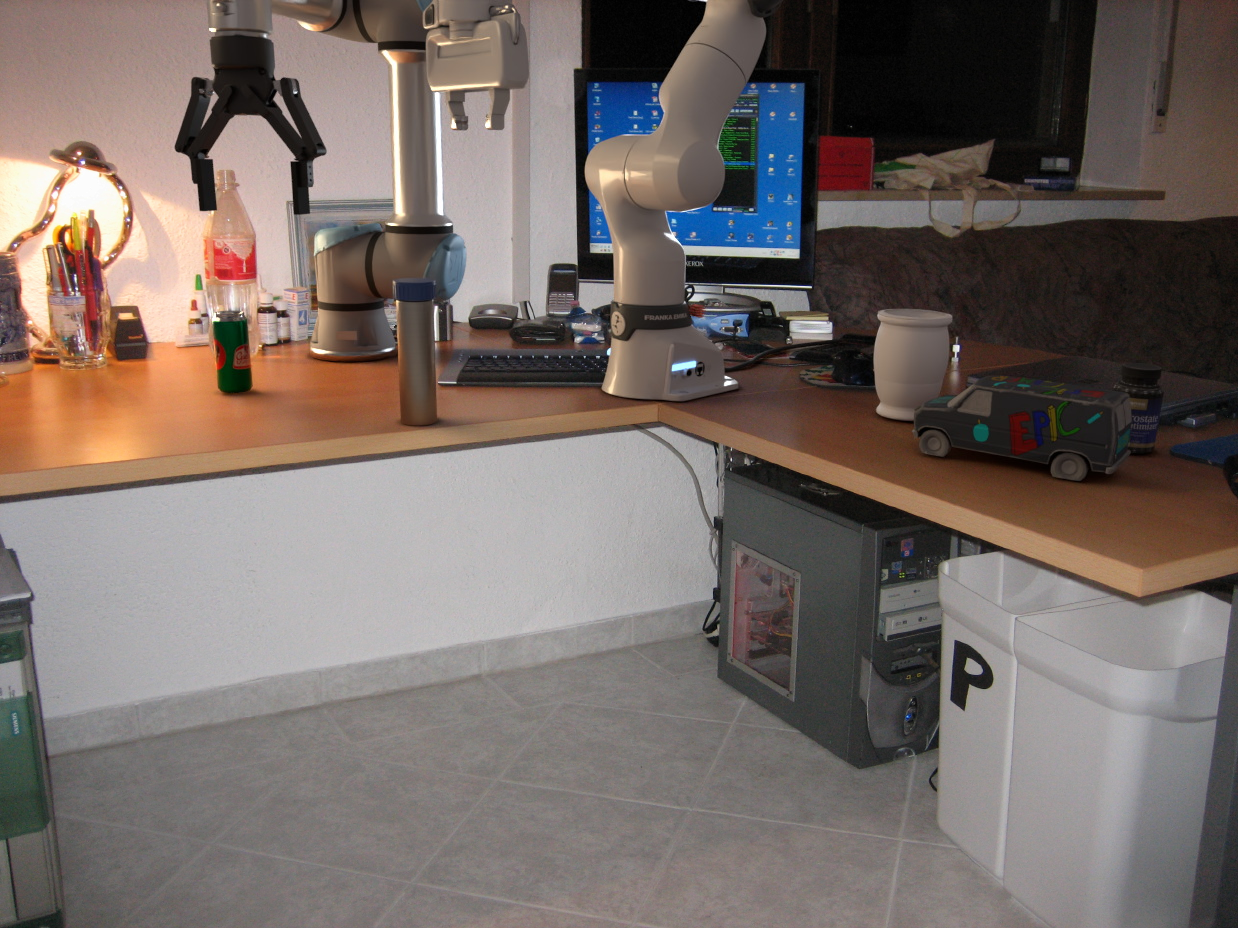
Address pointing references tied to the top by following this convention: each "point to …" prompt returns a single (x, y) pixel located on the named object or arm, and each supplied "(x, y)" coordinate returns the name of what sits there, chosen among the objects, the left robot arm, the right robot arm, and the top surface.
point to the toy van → (1031, 424)
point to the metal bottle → (416, 362)
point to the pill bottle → (1142, 403)
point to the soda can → (232, 352)
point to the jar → (909, 359)
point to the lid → (414, 289)
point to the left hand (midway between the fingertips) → (254, 213)
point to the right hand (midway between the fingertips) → (476, 130)
